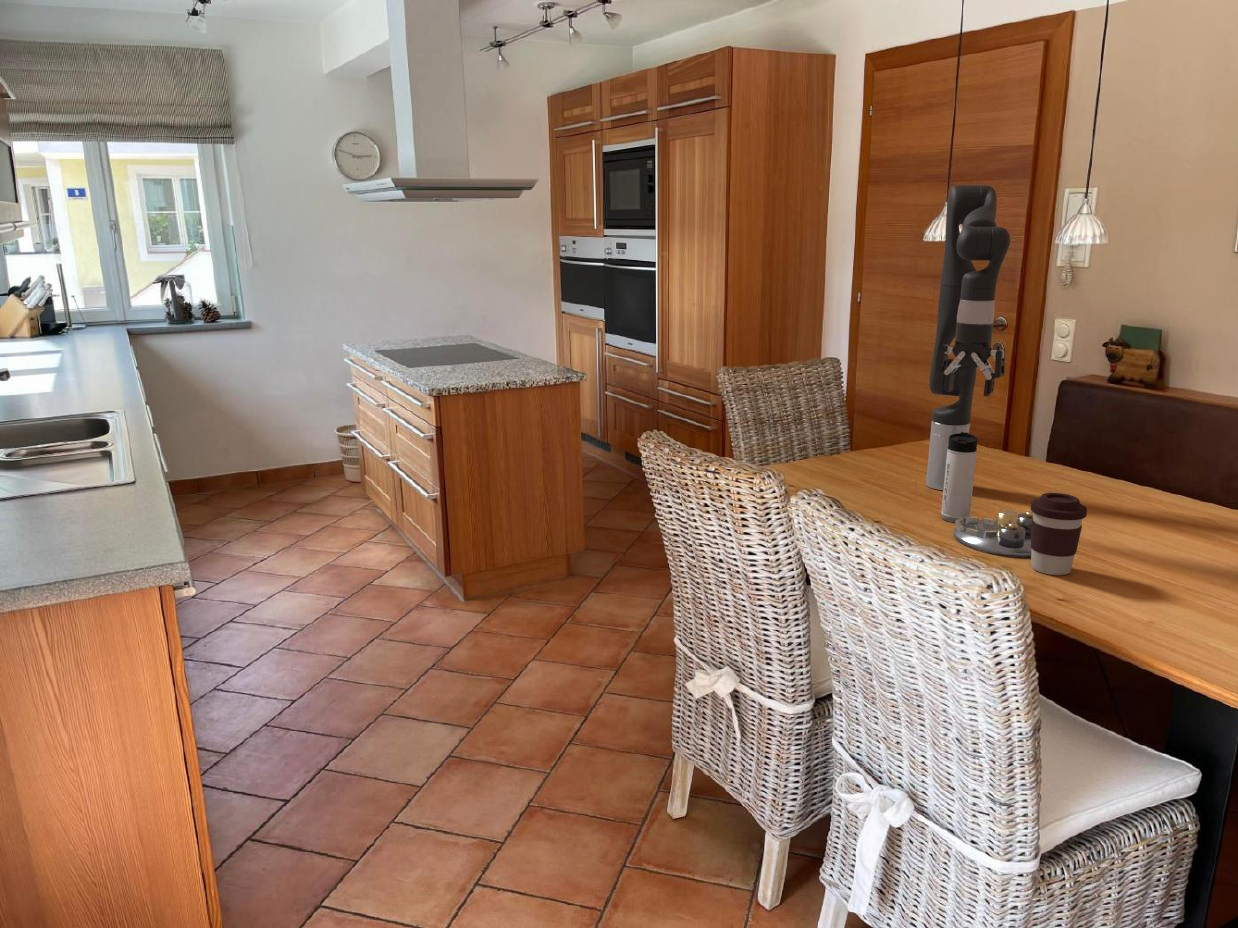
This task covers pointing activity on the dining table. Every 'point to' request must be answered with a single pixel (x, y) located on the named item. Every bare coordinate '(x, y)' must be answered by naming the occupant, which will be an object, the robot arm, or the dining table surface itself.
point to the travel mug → (959, 476)
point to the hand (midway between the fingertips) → (967, 393)
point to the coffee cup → (1055, 532)
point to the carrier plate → (990, 541)
